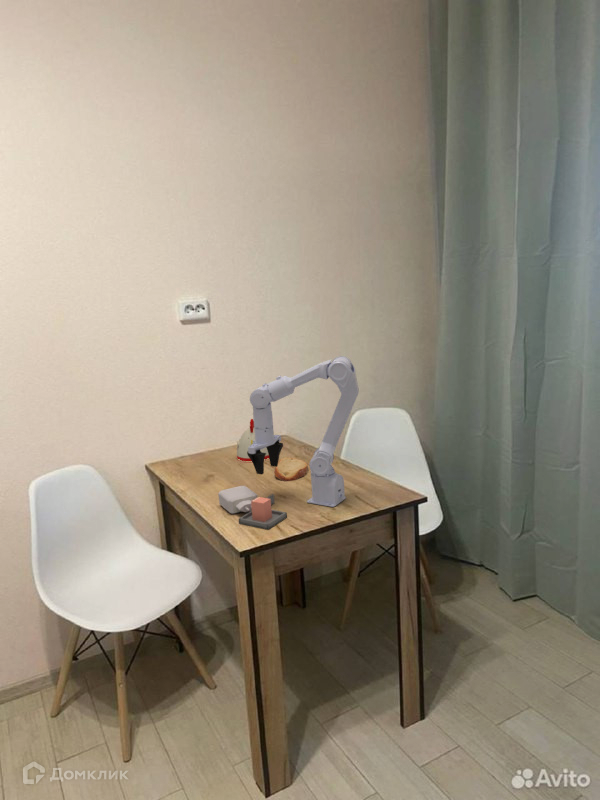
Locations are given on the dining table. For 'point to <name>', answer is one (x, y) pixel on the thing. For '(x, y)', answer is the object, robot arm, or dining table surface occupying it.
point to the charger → (237, 499)
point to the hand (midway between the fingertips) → (267, 469)
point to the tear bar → (271, 498)
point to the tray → (248, 520)
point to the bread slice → (290, 469)
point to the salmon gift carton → (261, 509)
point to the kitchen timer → (248, 443)
